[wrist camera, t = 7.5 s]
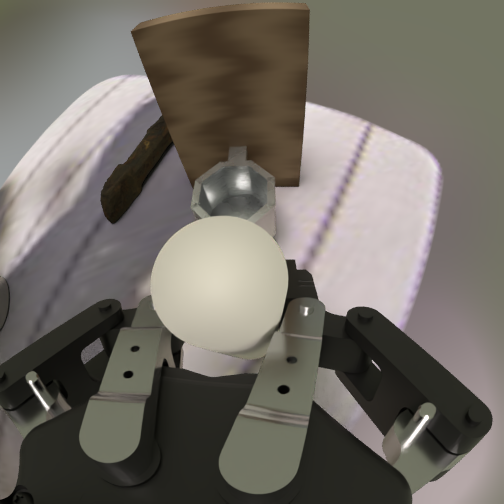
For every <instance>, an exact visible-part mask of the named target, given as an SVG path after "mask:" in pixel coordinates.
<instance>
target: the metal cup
mask: <svg viewBox="0 0 504 504" xmlns="http://www.w3.org/2000/svg"><path fill="white" fill-rule="evenodd" d="M191 209H192V211H193V213H194V216H195V218H196V220H200V219H203V218H207V217H213V216H233V217H238V218H242V219H245V220H248V221H250V222H252V223H255V224H256V225H258V226H260V227H261V228H263V229H264V230H265V231H266V232H268V233H269V234H270V235H271V237H274V236H275V235H276V234H275V177H273V176H272V175H271V174H269V173H268V172H267V171H265V170H264V169H263V168H261V167H260V166H259V165H257V164H256V163H254V162H253V161H252V160H250V161H247V146H243V147H229V156H228V161H225V162H219V163H218V164H216V165H215V166H214V167H212V168H211V169H210V170H208V171H207V172H206V173H204V174H203V175H202V176H200V177H199V178H198V179H196V180H195V185H194V191H193V196H192V202H191Z"/></svg>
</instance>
